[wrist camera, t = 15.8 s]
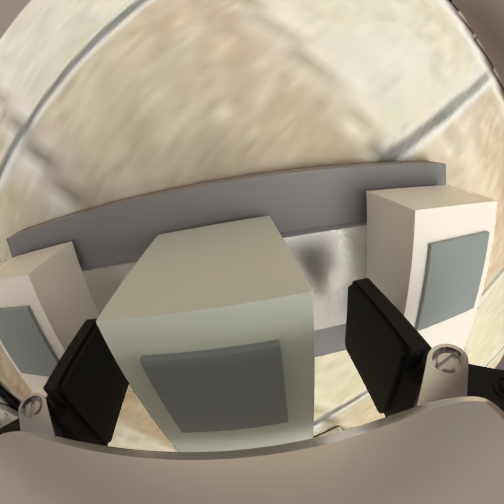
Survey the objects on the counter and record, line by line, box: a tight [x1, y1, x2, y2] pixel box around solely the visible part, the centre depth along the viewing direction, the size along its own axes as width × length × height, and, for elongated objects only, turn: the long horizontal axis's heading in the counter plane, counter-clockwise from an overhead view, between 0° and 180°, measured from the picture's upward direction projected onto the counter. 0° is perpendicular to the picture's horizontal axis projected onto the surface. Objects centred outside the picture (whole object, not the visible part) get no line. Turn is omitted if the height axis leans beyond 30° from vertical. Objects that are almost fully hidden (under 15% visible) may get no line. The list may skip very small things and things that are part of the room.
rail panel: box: [7, 161, 446, 357], centre depth 13 cm, size 10×24×2 cm, turn 98°
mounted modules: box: [0, 185, 497, 397], centre depth 10 cm, size 8×23×4 cm, turn 98°
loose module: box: [96, 216, 314, 452], centre depth 9 cm, size 7×4×6 cm, turn 8°
